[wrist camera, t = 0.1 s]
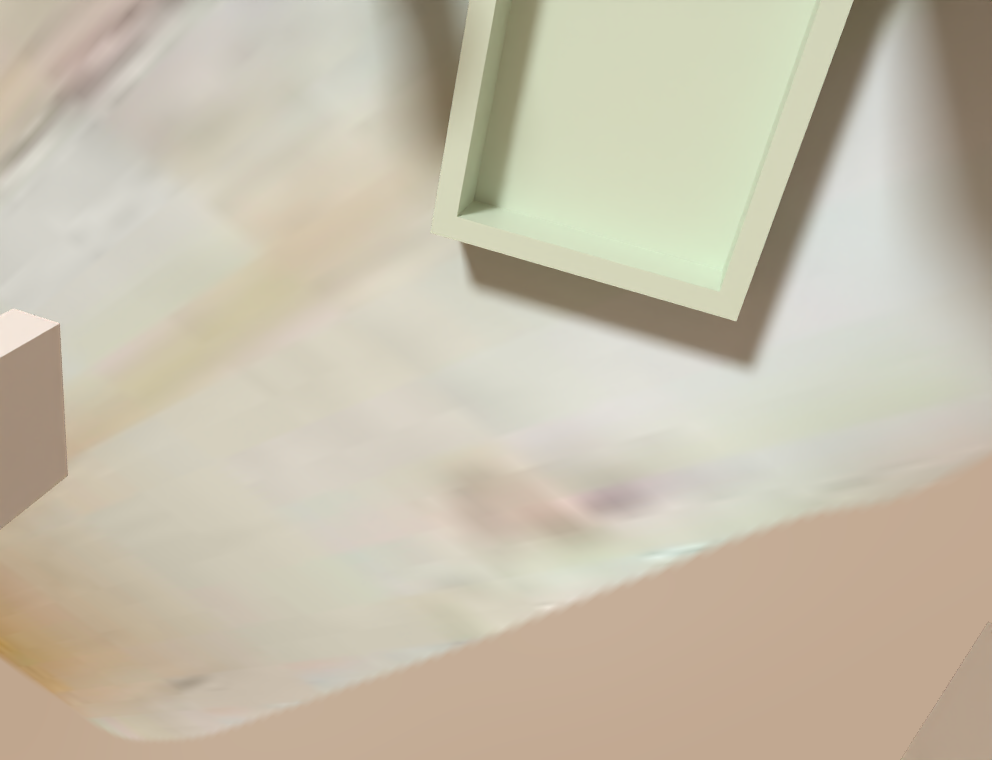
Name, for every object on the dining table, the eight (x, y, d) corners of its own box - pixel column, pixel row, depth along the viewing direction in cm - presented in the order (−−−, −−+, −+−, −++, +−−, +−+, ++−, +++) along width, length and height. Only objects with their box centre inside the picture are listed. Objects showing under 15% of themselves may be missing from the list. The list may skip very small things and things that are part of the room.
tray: (533, -239, 32) (511, -253, 30) (902, -162, 31) (915, -169, 28) (452, 211, 41) (430, 232, 38) (738, 293, 39) (736, 321, 36)
